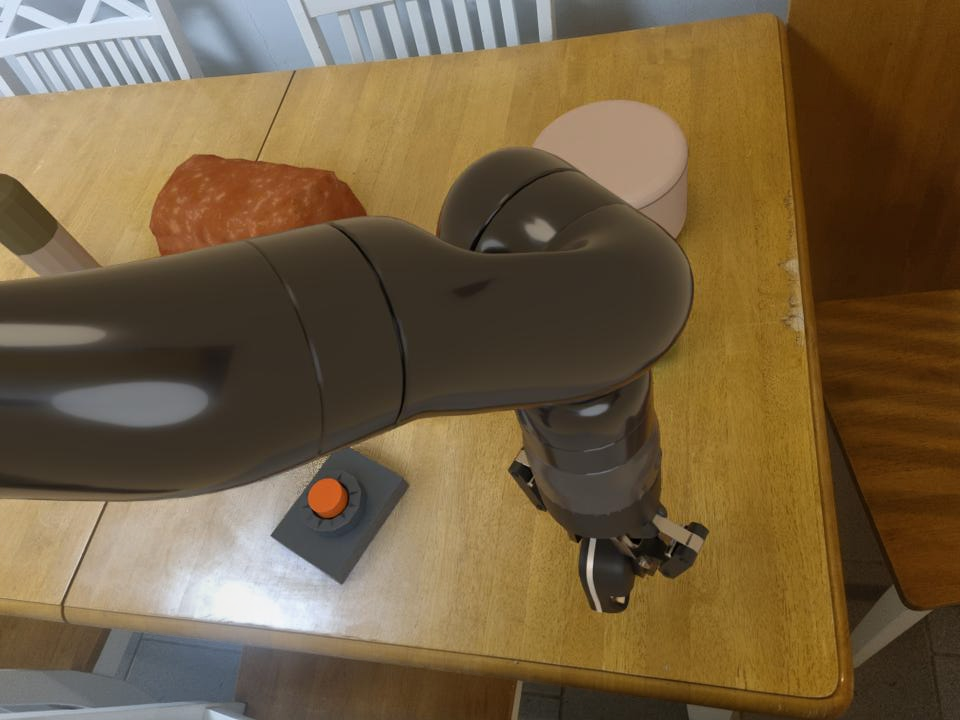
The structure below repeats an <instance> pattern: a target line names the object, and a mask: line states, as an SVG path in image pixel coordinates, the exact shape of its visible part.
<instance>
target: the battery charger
mask: <svg viewBox="0 0 960 720" xmlns="http://www.w3.org/2000/svg"><path fill="white" fill-rule="evenodd" d="M578 553H579V554H578V565H577V573H578V577H579V581H580V584H581V586H582V587H581V588H582V589H583V592H584V594H585V596H586V599H587V602H588V605H589V608H590V610H591V611H594V612H596V613H599V614H603V613H606V614H610V615H611V614H620V613H623V612H624V611H626V610H627V609H628V607H629V603H630V598H631V593H632V591H633V589H634V587H635V583H636V577H637V575H635V574H634V569H633V562H632V560H633V558H632V557H630V556H628V555H625V554H623V553H620V551H619V550H618V549H617V548H616V546H615V545H614V544H613V542H612V541H611V540H610V539H609V538H607V539H594V538H587V537H583V536H582V539H581V541H580V547H579V552H578Z"/></svg>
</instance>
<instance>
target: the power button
mask: <svg viewBox="0 0 960 720" xmlns="http://www.w3.org/2000/svg"><path fill="white" fill-rule="evenodd" d="M347 501H348V495H347V492H346V490H345V489H344V487H343V486H342V485H341V484H340V483H339V482H338V481H336V480H334V479H331V478H326V479H322V480H320V481H318V482H317V483H315V484H314V485H313V487H312V488H311V490H310V492H309V495H308V503H309V505H310V507H311V508H312V509H313V510H314V511H315V512H316V513H317V514H318V515H320V516H321V517H324V518H332V517H335V516H337V515H338V514H340V513H341V512H342V511H343V510H344V508H345V507H346V505H347Z"/></svg>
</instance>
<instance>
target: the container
mask: <svg viewBox="0 0 960 720" xmlns="http://www.w3.org/2000/svg"><path fill="white" fill-rule="evenodd" d="M688 143H689V142H688V141H687V137H686V135H685V133H684V131H683V128H682V127H681V126H680V124H679V123H678V122H677V120H675V119H674V118H673V117H672V116H671V115H670V114H668V113H667V112H666V111H664V110H663V109H660V108H659V107H656V106H655V105H652V104H648V103H645V102H641V101H636V100H631V99H606V100H599V101H598V100H597V101H594V102H590V103H586V104H584V105H580V106H578V107H574V108H572V109H571V110H568V111H566V112H565V113H563V114H562V115H559V116H558V117H556V119H554V120H552V121H551V123H549V124H548V125H547V126H546V127H544V129H543V130H542V131H541V132H540V133H539V135H537V138H536V139H535V141H534V142H533V143H532V146H531V148H537V149H541V150H544V151H546V152H549V153H551V154H554V155H556V156H558V157H560V158H562V159H564V160H565V161H567V162H568V163H570V164H571V165H573V166H574V167H576V168H577V169H579V170H580V171H582V172H583V173H585V174H586V175H587V176H588V177H590V178H592V179H593V180H595V181H596V182H597V183H599V184H600V185H602V186H603V187H605V188H606V189H608V190H609V191H611V192H612V193H614V194H615V195H617V196H618V197H620V198H621V199H623V200H624V201H626V202H627V203H629V204H630V205H632V206H633V207H634V208H636V209H638V210H639V211H641V212H642V213H644V214H645V215H646V216H648V217H649V218H651V219H652V220H654V221H655V222H657V223H658V224H659V225H661V226H662V227H663V228H665V229H666V230H667V231H668V232H669V233H670V234H671V235H672V236H673V237H674V238H675V239H676V238H677V237H678V236H679V234H680V233H681V232H682V230H683V227H684V226H685V223H686V220H687V213H688V177H689V175H688V172H689V171H688V169H689V166H688V165H689V156H690V154H689V153H690V152H689V151H690V149H689V144H688Z"/></svg>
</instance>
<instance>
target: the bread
mask: <svg viewBox="0 0 960 720" xmlns="http://www.w3.org/2000/svg"><path fill="white" fill-rule="evenodd" d="M359 216H369V215H368V213H367V211H366V208H365V207H364V206H363V204H362V203H361V201H360V200H359V199H358V198H357V196H356V194H355V193H354V191H353V190H352V189H351V187H350V186H349V185H348V183H347V182H345V181H343V180H341V179H339V178H338V176H337V174H336V172H335V171H334V170H328V169H322V168H314V167H300V166H295V165H290V164H286V163H275V162H270V161H265V160H250V159H246V158H226V157H222V156H219V155H216V154H207V153H205V154H200V153H198V154H196V153H194V154H192V155H190V157H188V158H187V159H186V160H184V161H183V162H182V163H180V164H179V165H178V166H176V168H175V169H174V170H173V172H172V174H171V175H170V176H169V177H168V179H167V181H166V182H165V184H164V185H163V187H162V188H161V189H160V190H159V192H158V193H157V196H156V198H155V201H154V204H153V206H152V209H151V215H150V220H149V226H148V227H149V230H150V232H151V235H153V236H154V238H155V241H156V244H157V247H158V248H157V249H158V252H159V255H160V256H165V255H170V254H175V253H180V252H185V251H189V250H194V249H199V248H203V247H208V246H213V245H217V244H222V243H227V242H231V241H238V240H242V239H247V238H252V237H256V236H261V235H266V234H271V233H276V232H281V231H286V230H290V229H295V228H300V227H305V226H310V225H315V224H319V223H320V224H321V223H323V222H328V221H333V220H339V219H345V218H351V217H359Z"/></svg>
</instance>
